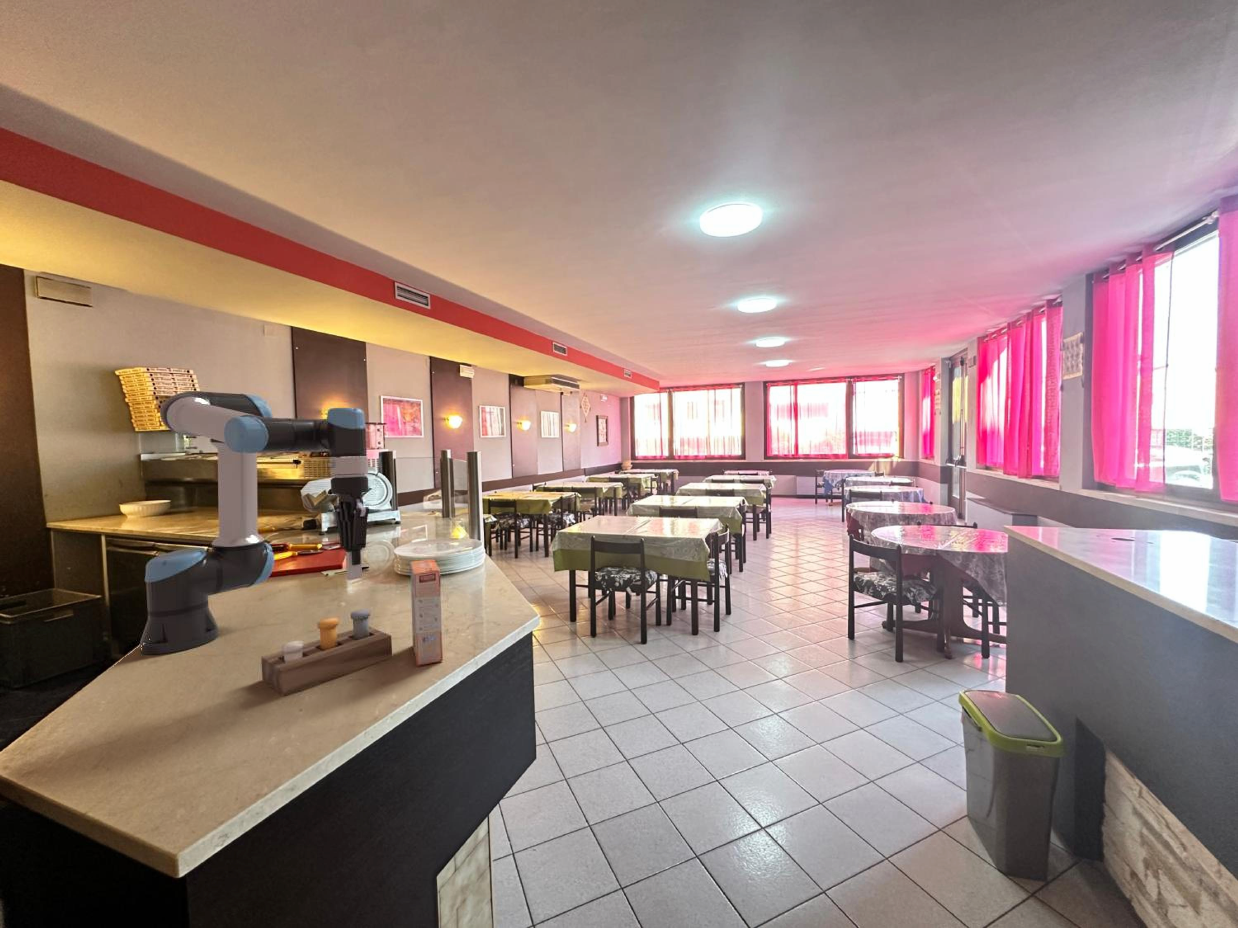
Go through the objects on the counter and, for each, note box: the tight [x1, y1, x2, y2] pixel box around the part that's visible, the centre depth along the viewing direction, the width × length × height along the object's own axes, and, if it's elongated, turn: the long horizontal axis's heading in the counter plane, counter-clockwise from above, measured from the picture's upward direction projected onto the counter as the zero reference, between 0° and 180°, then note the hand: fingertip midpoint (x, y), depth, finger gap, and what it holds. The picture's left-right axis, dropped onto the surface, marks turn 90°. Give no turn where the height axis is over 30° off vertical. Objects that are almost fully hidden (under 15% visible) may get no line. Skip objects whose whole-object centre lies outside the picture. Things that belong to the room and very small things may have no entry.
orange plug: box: [316, 617, 340, 651], centre depth 110 cm, size 4×4×7 cm
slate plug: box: [350, 609, 371, 641], centre depth 116 cm, size 4×4×7 cm
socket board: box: [260, 626, 393, 697], centre depth 110 cm, size 12×22×5 cm, turn 142°
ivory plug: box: [281, 640, 305, 663], centre depth 105 cm, size 4×4×7 cm
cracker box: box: [409, 558, 444, 667], centre depth 117 cm, size 14×6×21 cm, turn 26°
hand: (354, 578), depth 114 cm, fingers closed
